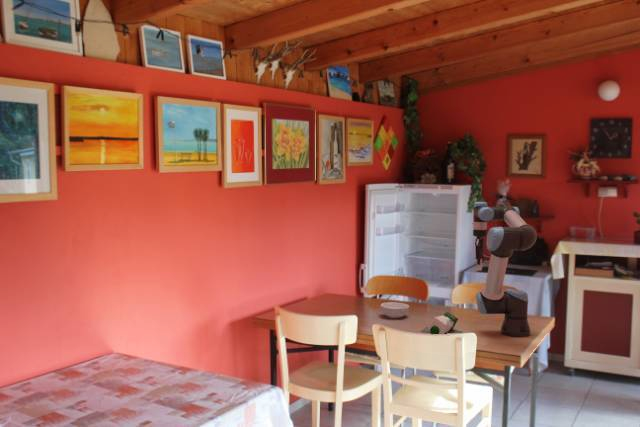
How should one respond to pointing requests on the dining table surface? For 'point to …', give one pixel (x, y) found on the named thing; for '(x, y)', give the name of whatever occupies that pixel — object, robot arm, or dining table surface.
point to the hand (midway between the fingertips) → (479, 270)
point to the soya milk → (442, 323)
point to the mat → (445, 333)
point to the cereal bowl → (394, 309)
